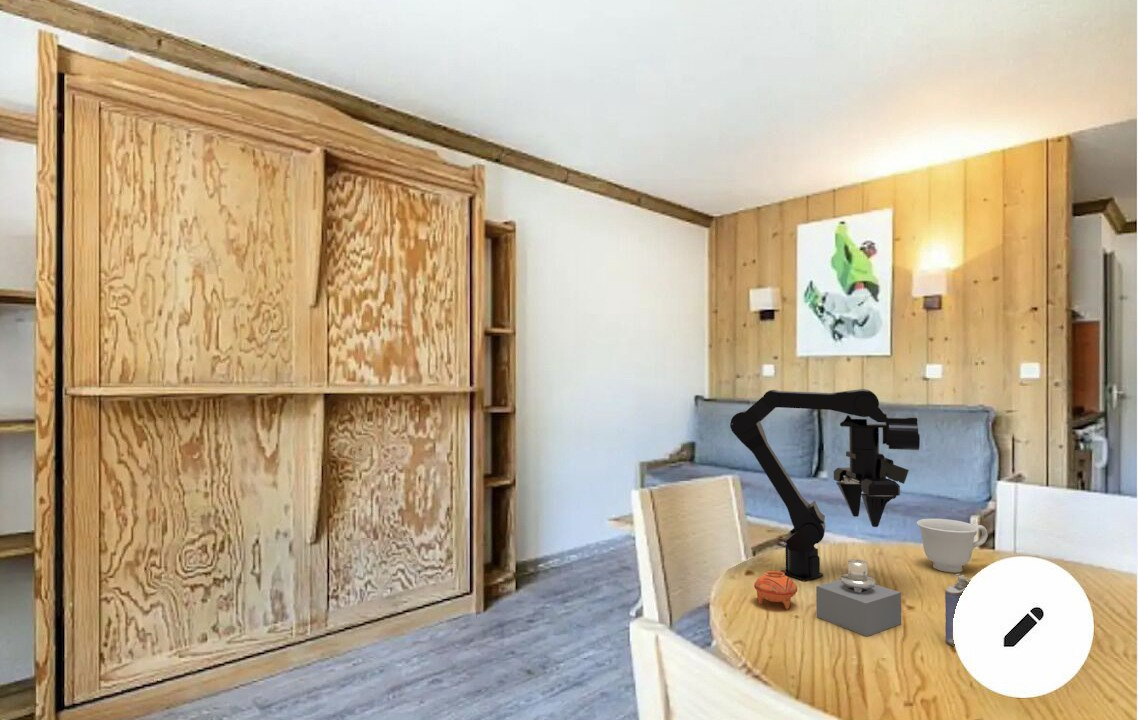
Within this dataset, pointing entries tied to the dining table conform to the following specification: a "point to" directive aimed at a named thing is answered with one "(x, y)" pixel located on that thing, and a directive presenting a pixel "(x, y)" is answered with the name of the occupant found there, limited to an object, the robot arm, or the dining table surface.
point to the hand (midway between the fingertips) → (865, 521)
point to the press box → (859, 607)
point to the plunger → (857, 576)
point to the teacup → (949, 542)
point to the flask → (953, 605)
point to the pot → (775, 587)
